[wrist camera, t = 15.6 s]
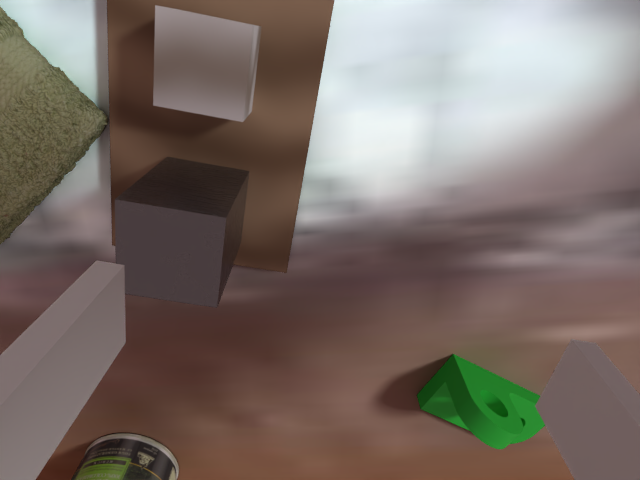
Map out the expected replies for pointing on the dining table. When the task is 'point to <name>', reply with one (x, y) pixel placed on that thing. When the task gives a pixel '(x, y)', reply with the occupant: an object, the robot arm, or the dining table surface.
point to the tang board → (221, 136)
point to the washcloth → (37, 126)
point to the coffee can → (127, 459)
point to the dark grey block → (181, 230)
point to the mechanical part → (481, 403)
